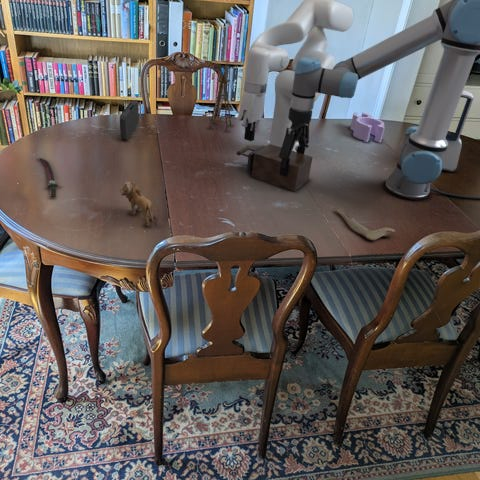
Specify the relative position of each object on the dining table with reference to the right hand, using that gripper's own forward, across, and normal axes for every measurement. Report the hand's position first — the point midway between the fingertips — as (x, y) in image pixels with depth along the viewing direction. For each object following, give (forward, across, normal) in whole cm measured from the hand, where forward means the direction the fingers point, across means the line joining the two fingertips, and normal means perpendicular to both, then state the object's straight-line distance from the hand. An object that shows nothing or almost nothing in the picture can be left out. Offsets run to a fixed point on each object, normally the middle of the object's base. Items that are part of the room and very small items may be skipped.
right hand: (291, 169), depth 163 cm
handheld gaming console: (+5, +2, -72) cm, 72 cm away
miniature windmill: (+5, -29, -48) cm, 57 cm away
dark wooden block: (+5, 0, -4) cm, 6 cm away
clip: (+5, -70, +5) cm, 70 cm away
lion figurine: (+4, +52, -24) cm, 57 cm away
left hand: (-6, +1, -18) cm, 19 cm away
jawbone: (+4, +12, +32) cm, 34 cm away
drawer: (+4, 0, -10) cm, 10 cm away
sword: (+5, +52, -63) cm, 81 cm away
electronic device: (+5, -54, +42) cm, 69 cm away
